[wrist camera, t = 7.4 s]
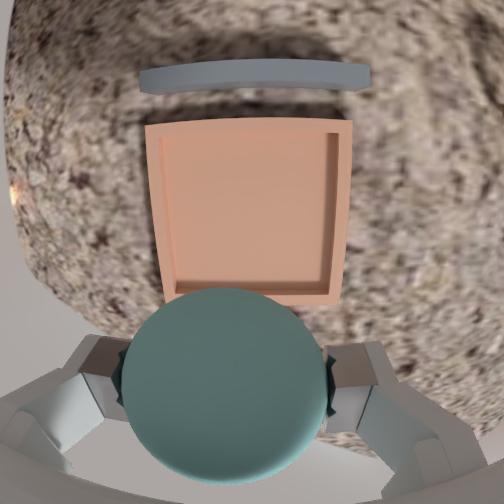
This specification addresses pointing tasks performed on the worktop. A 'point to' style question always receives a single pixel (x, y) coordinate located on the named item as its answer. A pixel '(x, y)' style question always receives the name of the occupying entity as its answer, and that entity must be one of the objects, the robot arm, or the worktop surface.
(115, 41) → the worktop surface
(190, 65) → the block
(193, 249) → the dish
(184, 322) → the ball
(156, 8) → the worktop surface
